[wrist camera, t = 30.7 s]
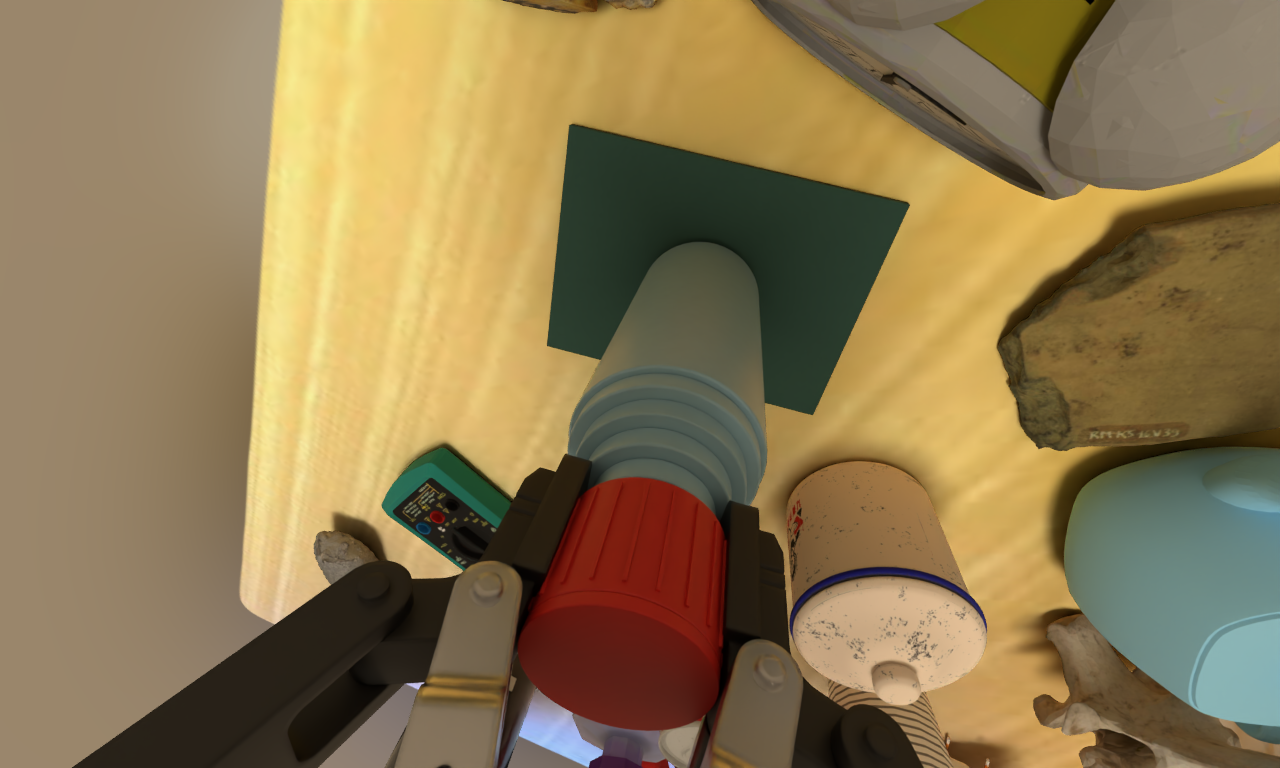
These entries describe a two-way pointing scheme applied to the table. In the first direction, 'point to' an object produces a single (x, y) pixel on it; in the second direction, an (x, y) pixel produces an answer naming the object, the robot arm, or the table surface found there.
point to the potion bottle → (619, 744)
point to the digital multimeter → (447, 506)
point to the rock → (340, 554)
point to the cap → (631, 609)
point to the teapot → (1188, 576)
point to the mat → (733, 218)
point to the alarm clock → (1063, 81)
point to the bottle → (682, 383)
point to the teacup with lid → (878, 584)
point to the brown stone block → (1157, 338)
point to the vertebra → (1132, 712)
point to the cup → (903, 722)
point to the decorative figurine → (581, 4)
